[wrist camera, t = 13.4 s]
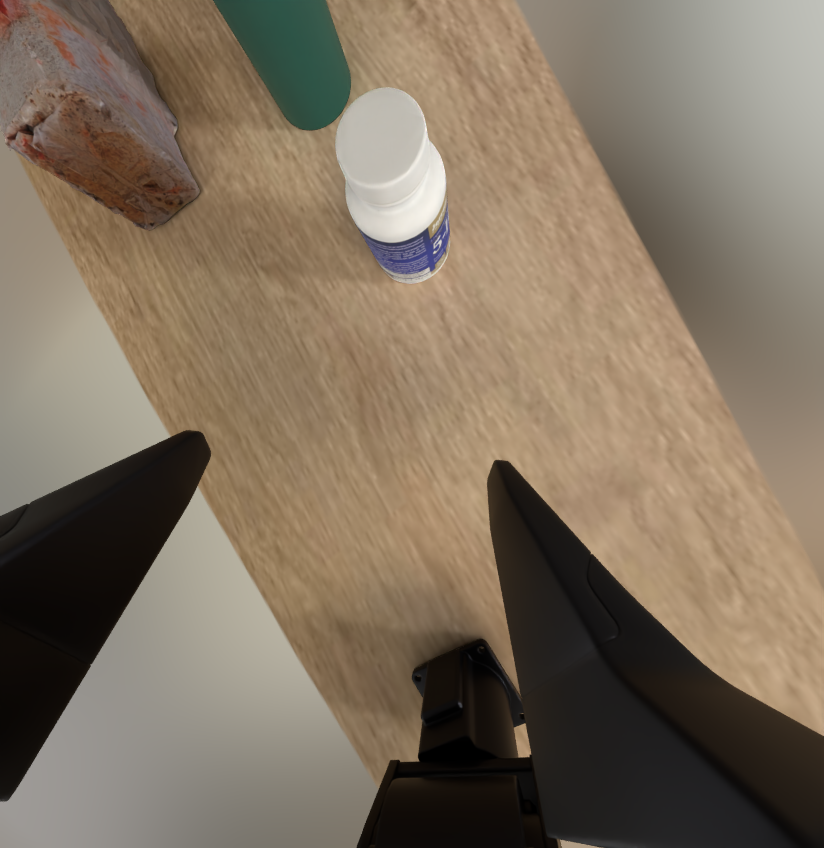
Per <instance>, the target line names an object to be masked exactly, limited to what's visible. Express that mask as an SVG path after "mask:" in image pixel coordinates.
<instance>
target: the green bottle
mask: <svg viewBox="0 0 824 848" xmlns="http://www.w3.org/2000/svg"><path fill="white" fill-rule="evenodd" d="M213 1H214V3H215V5H216V6H217V8H218V9H219V11H220V13H221V14H222V16H223V17H224V19H225V21H226V22H227V24H228V26H229V27H230V29H231V30H232V32H233V34H234V35H235V37H236V38H237V40H238V42H239V43H240V45H241V47H242V48H243V50H244V51H245V53H246V55H247V56H248V58H249V59H250V61H251V63H252V64H253V66H254V68H255V69H256V71H257V72H258V74H259V76H260V77H261V79H262V80H263V82H264V84H265V85H266V87H267V89H268V90H269V92H270V93H271V95H272V97H273V98H274V100H275V101H276V103H277V105H278V106H279V108H280V110H281V111H282V113H283V114H284V116H285V117H286V119H287V120H288V121H289V122H290V123H291V124H293V125H294V126H296V127H298V128H300V129H304V130H316V129H320V128H323V127H325V126H327V125H328V124H330V123H331V122H333V121H334V120H335V119H336V118H337V117H338V116H339V115H340V113H341V112H342V110H343V109H344V107H345V105H346V103H347V100H348V98H349V94H350V88H351V77H350V71H349V67H348V64H347V61H346V58H345V56H344V53H343V50H342V47H341V44H340V41H339V38H338V35H337V32H336V29H335V26H334V23H333V20H332V17H331V14H330V11H329V8H328V5H327V2H326V0H213Z"/></svg>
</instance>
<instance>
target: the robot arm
mask: <svg viewBox="0 0 824 848" xmlns="http://www.w3.org/2000/svg"><path fill="white" fill-rule="evenodd" d="M210 457H211V450H210V448H209V446H208V443H207V441H206V439H205V437H204V435H203V433H201V432H199V431H191V430H186V431H183V432H181V433H179V434H177V435H174V436H172V437H170V438H168V439H166V440H164V441H161V442H159V443H157V444H155V445H153V446H151V447H149V448H146V449H144V450H142V451H140V452H138V453H136V454H133V455H131V456H129V457H127V458H125V459H123V460H121V461H119V462H116V463H114V464H112V465H110V466H108V467H105V468H103V469H101V470H99V471H97V472H95V473H93V474H90V475H88V476H86V477H84V478H82V479H80V480H78V481H75V482H73V483H71V484H69V485H67V486H65V487H63V488H60V489H58V490H56V491H54V492H52V493H49V494H47V495H45V496H43V497H41V498H39V499H37V500H35V501H32V502H31V503H30V504H26V505H23V506H21V507H19V508H17V509H15V510H13V511H11V512H8V513H6V514H4V515H2V516H0V801H8V800H9V799H10V797H11V796H12V794H13V793H14V792H15V790H16V788H17V787H18V785H19V784H20V782H21V781H22V779H23V777H24V776H25V774H26V772H27V771H28V769H29V768H30V766H31V764H32V763H33V761H34V759H35V758H36V756H37V754H38V753H39V751H40V749H41V748H42V746H43V744H44V743H45V741H46V739H47V738H48V736H49V734H50V733H51V731H52V729H53V728H54V726H55V724H56V723H57V721H58V720H59V718H60V716H61V715H62V713H63V711H64V710H65V708H66V706H67V705H68V703H69V701H70V700H71V698H72V696H73V695H74V693H75V691H76V690H77V688H78V686H79V685H80V683H81V681H82V680H83V678H84V677H85V675H86V673H87V671H88V670H89V668H90V667H91V665H90V664H92V663H93V661H94V660H95V658H96V656H97V655H98V653H99V651H100V650H101V648H102V646H103V645H104V643H105V641H106V640H107V638H108V637H109V635H110V633H111V631H112V630H113V628H114V627H115V625H116V623H117V622H118V620H119V618H120V617H121V615H122V613H123V612H124V610H125V608H126V607H127V605H128V603H129V602H130V600H131V598H132V597H133V595H134V594H135V592H136V590H137V589H138V587H139V585H140V584H141V582H142V580H143V579H144V577H145V575H146V574H147V572H148V570H149V569H150V567H151V565H152V564H153V562H154V560H155V559H156V557H157V555H158V554H159V552H160V551H161V549H162V547H163V546H164V544H165V542H166V541H167V539H168V537H169V536H170V534H171V532H172V531H173V529H174V527H175V526H176V524H177V522H178V521H179V519H180V518H181V516H182V514H183V513H184V511H185V509H186V507H187V506H188V504H189V502H190V500H191V498H192V496H193V494H194V492H195V490H196V488H197V486H198V484H199V481H200V479H201V477H202V475H203V473H204V471H205V469H206V466H207V464H208V462H209V460H210ZM487 489H488V505H489V520H490V531H491V537H492V542H493V548H494V553H495V559H496V564H497V569H498V575H499V580H500V586H501V591H502V596H503V602H504V607H505V613H506V618H507V623H508V629H509V634H510V640H511V645H512V650H513V656H514V661H515V667H516V672H517V678H518V683H519V688H520V694H521V697H522V698H521V697H520V695H519V693H518V692H517V690H516V688H515V687H514V685H513V684H512V682H511V680H510V679H509V677H508V675H507V674H506V672H505V671H504V669H503V667H502V666H501V664H500V663H499V661H498V659H497V658H496V656H495V654H494V653H493V651H492V650H491V648H490V646H489V645H488V643H487V642H486V641H485V640H483V639H478V640H476V641H473V642H471V643H469V644H467V645H465V646H463V647H460V648H458V649H455V650H452V651H450V652H448V653H446V654H444V655H442V656H439V657H437V658H435V659H433V660H431V661H429V662H428V663H426V664H424V665H421V666H419V667H417V668H415V669H414V670H413V673H412V680H413V682H414V684H415V686H416V687H417V689H418V690H419V692H420V694H421V695H422V697H423V703H422V710H421V719H422V729H421V737H420V745H419V753H418V759H419V761H418V762H400V760H390V762H389V765H388V767H387V770H386V773H385V775H384V778H383V780H382V783H381V785H380V788H379V790H378V793H377V795H376V798H375V800H374V803H373V805H372V808H371V810H370V813H369V815H368V818H367V820H366V823H365V825H364V828H363V831H362V834H361V837H360V839H359V842H358V845H357V848H562V846H561V842H560V840H565V841H571V842H576V843H581V844H586V845H591V846H597V847H603V848H824V736H822V735H820V734H819V733H817V732H815V731H813V730H811V729H809V728H808V727H806V726H804V725H802V724H800V723H799V722H797V721H795V720H793V719H791V718H790V717H788V716H786V715H784V714H782V713H781V712H779V711H777V710H775V709H773V708H772V707H770V706H768V705H766V704H764V703H763V702H761V701H759V700H757V699H755V698H754V697H752V696H750V695H748V694H746V693H745V692H743V691H741V690H739V689H738V688H736V687H734V686H733V685H731V684H730V683H728V682H727V681H725V680H724V679H722V678H721V677H719V676H718V675H717V674H715V673H714V672H713V671H711V670H710V669H709V668H708V667H707V666H705V665H704V664H703V663H702V662H701V661H700V660H698V659H697V658H696V657H695V656H694V655H693V654H692V653H691V652H690V651H689V650H688V649H687V648H686V647H685V646H684V645H683V644H682V643H680V642H679V641H678V640H677V639H676V638H675V637H674V636H673V635H672V634H671V633H670V632H669V631H668V630H667V629H666V628H665V627H664V626H663V625H662V624H661V623H660V622H659V621H658V620H657V619H655V618H654V617H653V616H652V615H651V614H650V613H649V612H648V611H647V610H646V609H645V608H644V607H643V606H642V605H641V604H640V603H639V602H638V601H637V600H636V599H635V598H634V597H633V596H632V595H631V594H630V593H629V592H628V591H627V590H626V589H625V588H624V587H623V586H622V585H621V584H620V583H619V582H618V581H617V580H616V579H615V578H614V577H613V576H612V575H611V574H610V572H609V571H608V570H607V569H606V568H605V567H604V566H603V565H602V564H601V563H600V562H599V561H598V559H597V558H596V557H595V556H594V555H593V554H591V552H590V551H589V550H588V549H587V547H586V546H585V545H584V544H583V543H582V542H581V541H580V540H579V539H578V537H577V536H576V535H575V534H574V533H573V532H572V531H571V530H570V529H569V528H568V526H567V525H566V524H565V523H564V522H563V521H562V520H561V519H560V518H559V516H558V515H557V514H556V513H555V512H554V511H553V510H552V509H551V508H550V507H549V505H548V504H547V503H546V502H545V501H544V500H543V499H542V498H541V497H540V495H539V494H538V493H537V492H536V491H535V490H534V489H533V488H532V487H531V486H530V484H529V483H528V482H527V481H526V480H525V479H524V478H523V477H522V476H521V474H520V473H519V472H518V471H517V470H516V469H515V468H514V467H513V466H512V464H511V463H510V462H508V461H503V460H495V461H494V463H493V465H492V468H491V470H490V473H489V476H488V480H487ZM481 646H482V647H484V648H483V649H481V648H479V647H481ZM417 675H419V676H420V677H418V676H417ZM520 713H524V714H520ZM524 723H526V727H527V733H528V738H529V743H530V749H531V754H532V755H530V757H523V758H518V752H517V745H516V739H515V733H514V727H516V726H519V725H521V724H524Z"/></svg>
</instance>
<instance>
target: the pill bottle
mask: <svg viewBox="0 0 824 848" xmlns="http://www.w3.org/2000/svg"><path fill="white" fill-rule="evenodd" d="M335 148H336V155H337V159H338V162H339V165H340V167H341V169H342V171H343V174H344V176H345V178H346V184H345V194H346V201H347V205H348V209H349V211H350V214H351V216H352V218H353V220H354V222H355V224H356V226H357V227H358V229H359V231H360V232H361V234H362V236H363V238H364V239H365V241H366V243H367V244H368V246H369V248H370V249H371V251H372V253H373V255H374V256H375V258H376V260H377V261H378V263H379V265H380V266H381V268H382V269H383V271H384V272H385V273H386V274H387V275H388V276H389V277H391V278H392V279H394V280H396V281H398V282H401V283H407V284H414V283H419V282H423V281H425V280H427V279H429V278H431V277H432V276H433V275H435V274H436V273H437V272H438V271H439V270H440V268H441V267H442V266H443V264H444V262H445V260H446V258H447V256H448V252H449V248H450V230H449V217H448V203H447V187H446V176H445V169H444V165H443V162H442V159H441V157H440V154H439V153H438V151H437V149H436V148H435V146H434V145H433V144H432V143H431V142H430V141H429V139H428V134H427V128H426V122H425V119H424V116H423V113H422V110H421V109H420V107H419V105H418V104H417V102H416V101H415V100H414V99H413V98H412V97H411V96H410V95H408V94H407V93H405V92H404V91H402V90H399V89H396V88H388V87H385V88H376V89H373V90H371V91H368V92H366V93H364V94H363V95H361V96H360V97H358V98H357V99H356V100H355V101H353V102H352V103H351V104H350V106H349V107H348V108H347V109H346V111H345V113H344V114H343V116H342V118H341V120H340V123H339V125H338V129H337V133H336V142H335Z"/></svg>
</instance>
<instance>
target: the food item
mask: <svg viewBox="0 0 824 848" xmlns="http://www.w3.org/2000/svg"><path fill="white" fill-rule="evenodd" d="M0 126H1V129H2V133H3V135H4V137H5V139H6V141H5V142H6V145H7V146H8V148H9V149H10V150H11V149H12V148H13V149H14V150H15V151H17V152H18V153H19V154H21V155H22V156H23V157H24V158H26V159H27V160H28V161H30V162H31V163H33V164H35V165H37V166H39V167H41V168H43V169H44V170H46V171H48V172H49V173H51V174H53V175H54V176H56V177H58V178H59V179H61V180H63V181H65V182H66V183H68V184H69V185H70V186H71V187H72V188H74V189H76V190H78V191H81V192H82V193H84V194H86V195H87V196H89V197H91V198H92V199H93V200H95V201H96V202H98V203H100V204H101V205H103V206H105V207H107V208H109V209H110V210H111V211H113V212H114V213H115V214H120V215H122V216H123V217H125V218H127V219H128V220H130V221H132V222H133V224H134V225H135V226H136V227H139V228H143V229H146V230H151V229H153V228H155V227H156V226H157V225H162V224H163V223H165V222H166V221H168V220H169V219H170V217H171V216H172V215H173V214H174V213H176V212H177V211H178V210H180V209H181V208H182V207H183V206H184V205H186V204H187V203H188V202H191V201H193V200H194V199H195V198H196V197H197V196H198V194H199V192H200V190H199V188H198V186H197V184H196V182H195V180H194V179H193V177H192V175H191V173H190V171H189V169H188V166H187V165H186V163H185V162H184V160H183V157H182V155H181V152H180V150H179V147H178V145H177V142H176V140H175V138H174V135H175V133H176V130H177V128H178V126H177V119H176V117H175V116H174V115H173V114H172V113H171V111H170V109H169V108H168V106H167V104H166V102H164V101H163V100H162V99H161V98H160V96H159V94H158V92H157V89H156V87H155V82H154V78H153V74H152V73H151V72H150V71H149V69H148V68H147V67H146V66H145V64H144V63H143V62H142V60H141V58H140V56H139V54H138V51H137V49H136V47H135V44H134V42H133V39H132V37H131V35H130V34H129V33H128V31H127V29H126V26H125V25H124V23H123V21H122V20H121V19H120V18H119V17H118V16H117V14H116V12H115V10H114V8H113V7H112V5H111V4H110V2H109V1H108V0H0ZM144 227H145V228H144Z"/></svg>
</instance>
